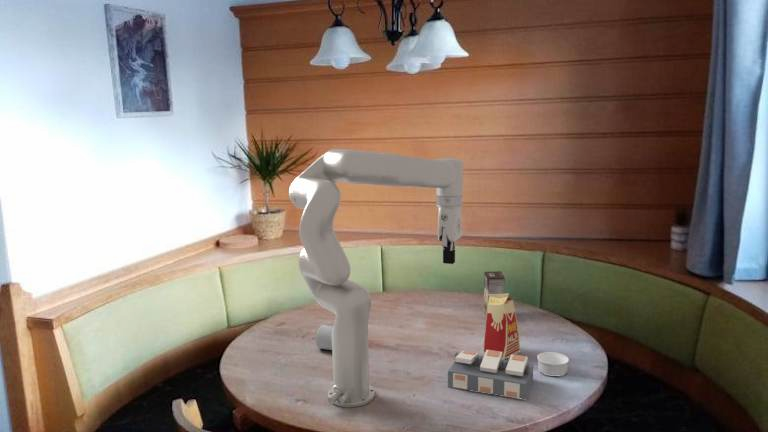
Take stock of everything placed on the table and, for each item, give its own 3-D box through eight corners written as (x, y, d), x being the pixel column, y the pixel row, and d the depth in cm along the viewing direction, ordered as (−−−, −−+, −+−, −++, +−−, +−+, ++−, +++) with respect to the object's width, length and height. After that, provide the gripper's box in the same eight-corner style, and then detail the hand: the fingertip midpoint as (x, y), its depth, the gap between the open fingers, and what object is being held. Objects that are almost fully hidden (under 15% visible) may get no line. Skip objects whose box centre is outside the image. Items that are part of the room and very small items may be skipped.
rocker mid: (496, 373, 155) (496, 369, 155) (480, 370, 157) (479, 366, 157) (502, 355, 162) (502, 351, 162) (486, 353, 164) (486, 348, 163)
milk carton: (520, 351, 181) (522, 290, 178) (504, 361, 175) (506, 298, 171) (495, 344, 188) (496, 285, 184) (479, 353, 181) (480, 292, 178)
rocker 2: (522, 376, 152) (522, 371, 152) (505, 373, 154) (505, 368, 154) (527, 360, 159) (527, 356, 159) (511, 358, 161) (511, 353, 161)
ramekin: (533, 365, 172) (534, 351, 171) (563, 365, 172) (564, 351, 171) (540, 378, 163) (541, 364, 162) (572, 378, 163) (573, 364, 162)
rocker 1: (470, 364, 158) (471, 359, 157) (454, 361, 159) (455, 356, 159) (477, 357, 165) (477, 352, 165) (462, 354, 167) (462, 350, 167)
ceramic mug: (339, 355, 181) (338, 331, 180) (315, 352, 183) (315, 329, 182) (352, 343, 191) (351, 320, 189) (329, 340, 193) (329, 318, 192)
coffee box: (483, 312, 218) (483, 271, 215) (499, 311, 218) (500, 270, 215) (487, 320, 209) (487, 278, 206) (504, 320, 209) (505, 277, 206)
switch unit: (524, 401, 150) (525, 375, 149) (447, 387, 158) (447, 363, 157) (532, 379, 162) (533, 355, 161) (460, 367, 170) (460, 345, 169)
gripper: (454, 205, 158) (454, 270, 161) (468, 198, 171) (468, 258, 174) (428, 204, 161) (428, 268, 164) (444, 197, 174) (444, 256, 177)
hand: (449, 262), depth 169 cm, fingers closed
